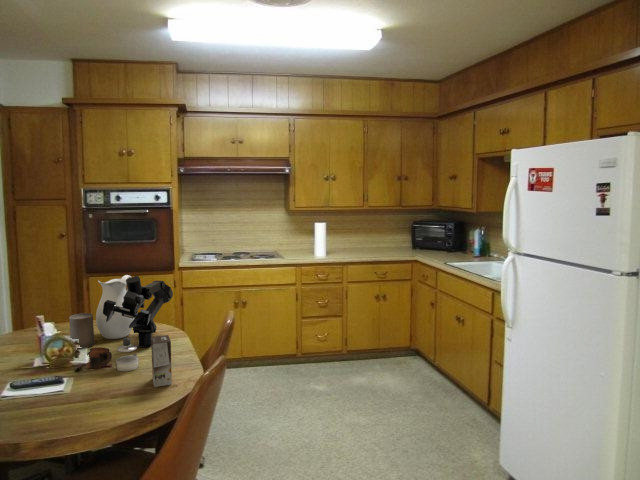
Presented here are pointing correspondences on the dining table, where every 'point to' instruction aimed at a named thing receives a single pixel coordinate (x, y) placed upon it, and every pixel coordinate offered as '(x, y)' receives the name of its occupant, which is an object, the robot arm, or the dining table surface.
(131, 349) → the plunger
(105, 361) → the pottery mug
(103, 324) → the pitcher
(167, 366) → the coffee box
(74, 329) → the pillar candle
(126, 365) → the press
